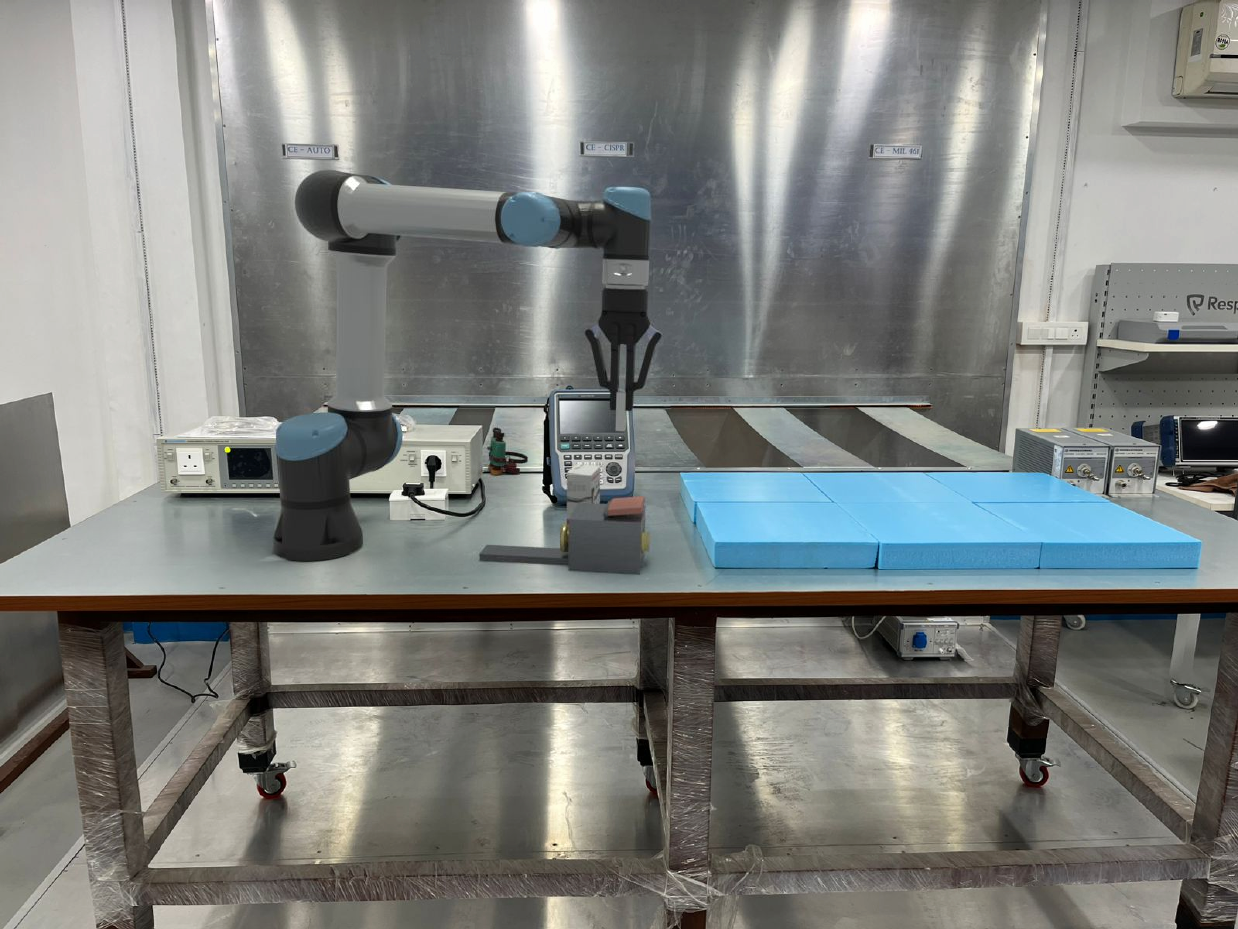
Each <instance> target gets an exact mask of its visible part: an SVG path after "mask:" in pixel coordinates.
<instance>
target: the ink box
mask: <svg viewBox="0 0 1238 929" xmlns="http://www.w3.org/2000/svg"><path fill="white" fill-rule="evenodd" d="M600 486H601V465H592V464H584V463H583V464H582V463H577V464H575V465H573V467H572V468H570V469H569V470H568V471H567V473H566V524H569V518H570V516H571V514H572V512H573V511H574V509H575V507H576V505H577V503H597V504H601V503H600V502H601V487H600Z"/></svg>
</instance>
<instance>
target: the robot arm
mask: <svg viewBox="0 0 1238 929" xmlns="http://www.w3.org/2000/svg"><path fill="white" fill-rule="evenodd" d="M651 201H652V200H651V194H650V191H648V190H647V189H645V188H642V187H634V186H633V187H632V186H616V187H615V186H614V187H613V186H612V187H610V186H609V187H607V188H606V189H605V190H604V194H603V198H602V199H601V200H578V199H577V200H576V199H575V200H573V199H566V198H559V197H555V196H550V195H545V194H543V193H541V192H535V191H522V192H507V191H495V190H478V189H464V188H448V187H431V186H414V185H413V186H412V185H398V184H391V183H390V182H388V181H386V180H384V179H381V178H379V177H376V176H371V175H364V174H357V173H351V172H343V171H340V170H335V169H322V170H318V171H314V172H313V173H310V174H309V175H307V176H306V177H305V178H304V179H302V181H301V182H300V184H299V185H298V187H297V189H296V192H295V196H294V209H295V212H296V213H295V214H296V216H297V218H298V221H299V223H300V224H301V225H302V227H303V228H304V229H305V230H306V231H307V232H308V233H309V234H311V235H312V236H313V237H315V238H317V239H319V240H321V241H325V242H327V243H328V244H327V251H328V253H329V254H330V255H331V257H332V258H334V260H335V262H336V366H335V367H336V369H335V370H336V372H335V373H336V377H335V378H336V380H335V381H336V382H335V384H336V386H335V388H336V390H335V394H334V395H333V396H332V397H331V398H330V399H329V400H328V401H327V412H323V411H322V412H310V413H307V414H299V415H295V416H293V417H290V418H288V419H286V420H284V421H282V422H281V423H280V424H278V427H277V428H276V431H275V444H274V450H275V455H276V466H277V475H278V477H277V478H278V487H279V498H280V512H279V515H278V519H277V524H276V527H275V530H274V535H273V538H272V545H273V554H275V555H276V556H277V557H279V558H282V559H286V560H289V561H290V560H291V561H298V562H299V561H300V562H302V561H305V562H308V561H309V562H312V561H324V560H325V561H326V560H331V559H336V558H341V557H344V556H346V555H351V554H353V553H355V552H357V551H359V550H360V549H361V548H362V547H363V545H364V534H363V533H364V532H363V529H362V527H361V525H360V522H359V520H358V518H357V514H356V512H355V510H354V508H353V505H352V503H351V486H350V480H353V479H355V478H358V477H360V476H363V475H366V474H369V473H372V472H376V471H378V470H380V469H382V468H384V467H385V466H387V465H388V464H390V463H391V462H393V460H394V459H395V458H396V457H398V454H399V453H400V450H401V448H402V445H403V429H402V426H401V423H400V422H399V421H398V420H397V417H396V415H395V414H394V413H393V403H392V402H391V401H390V400H389V399H388V398H387V397H386V396H385V370H386V369H385V367H386V366H385V365H386V364H385V363H386V361H385V360H386V357H385V356H386V329H387V328H386V325H387V324H386V323H387V322H386V321H387V319H386V318H387V282H388V281H387V280H388V279H387V277H388V275H387V274H388V266H389V264H390V263H391V262H392V261H393V260H394V259H396V258H397V242H399V241H400V240H401V239H402V237H404V236H406V237H418V238H427V239H428V238H431V239H443V240H444V239H445V240H456V241H457V240H458V241H468V242H470V241H471V242H482V243H484V242H485V243H496V244H507V245H517V246H523V247H528V248H529V247H535V248H538V247H541V248H549V249H555V250H558V249H595V250H596V249H597V250H600V249H602V253H603V254H602V280H601V283H602V284H603V285H605V287H604V288H603V290H601V312H600V313H601V314H600V316H599V318H598V320H597V324H596V325H594V326H593V327H591V328H590V327H589V328H588V329H586V330H585V331H584V335H585V337H586V339H587V340H588V342H589V344H590V347H591V352H592V357H593V360H594V366H595V370H596V375H597V379H598V384H599V387H601V388H604V389H607V390H609V408H610V411H615V432H625V431H626V429H627V414H628V412H632V411H633V408H634V393H635V391H637V390H641V389H643V388H644V386H645V385H646V382H647V378H648V374H649V371H650V367H651V365H652V364H651V363H652V361H653V360H652V359H653V357H654V354H655V350H656V347H657V344H658V343H659V342H660V340H661V338H662V337H663V332H662V331H660V330H657V329H656V328H654V327H653V326H651V321H650V318H649V316H648V302H649V291H648V289H646V288H645V287H646V286H648V285H649V275H650V244H651V243H650V242H651V226H652V224H651V223H652V211H651V210H652V208H651V206H652V202H651ZM601 332H602V333H603V336H605V338H606V339H607V340H608V342H609V343H610V372H609V373H610V375H609V376H610V378H608V377H609V376H608V374H607V373H608V372H607V369H606V364H605V360H604V354H603V350H602V344H601V341H600V338H601ZM646 332H647V336H646V339H647V340H646V341H648V344H647V346H646V349H645V352H644V356H643V360H642V362H641V363H642V364H641V368H640V370H639V373H638V374H639V375H638V377H637V381H635V374H636V372H635V371H636V368H635V367H636V348H637V347H636V346H637V344H638V342H639V341H640V340H641V339H642V337H643V336H644V335H645V333H646ZM622 345H625V349H626V350H625V351H626V355H625V356H626V359H625V361H626V362H625V386H624V389H623V390H622V389H619V388H620V366H621V365H620V362H621V360H620V358H621V346H622Z"/></svg>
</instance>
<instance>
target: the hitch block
mask: <svg viewBox="0 0 1238 929" xmlns="http://www.w3.org/2000/svg"><path fill="white" fill-rule="evenodd" d="M606 506H607V503H600V504H597V503H577V505H576V507H575V509H574V511H573V512H572V514H571V516H570V518H569V550H568V552H561V550H560V547H558V548H557V547H542V546H541V547H539V546H518V545H502V544H501V545H499V544H486V545H485V546H484V547H483V549H482V550H481V551H480V553H479V554H478V556H479V558H478V559H479V561H480V562H482V561H483V562H499V563H500V562H501V563H517V564H518V563H521V564H537V565H538V564H540V565H558V566H568V571H572V572H573V571H574V572H591V573H592V572H593V573H609V574H629V575H631V574H633V575H640V574H641V571H642V567H643V561H644V557H645V551H642V532H644V533H646V505H644V507H643V510H642V513H638V514H624V515H611V516H608V517H607V518H605V517H604V516H603V513H604V510H605V508H606Z"/></svg>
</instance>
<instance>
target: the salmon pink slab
mask: <svg viewBox="0 0 1238 929" xmlns="http://www.w3.org/2000/svg"><path fill="white" fill-rule="evenodd" d="M645 498H646V497H645V495H643V496H628V497H627V496H626V497H616V498H612V499H611V500H608V501H607V503H606V504H607V506H606V508H605V510H604V513H603V516H604V517H605V518H607V517H608V516H611V515H624V514H638V513H642V510H643V507H644V506H645V503H646V502H645V501H646V499H645Z"/></svg>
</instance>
